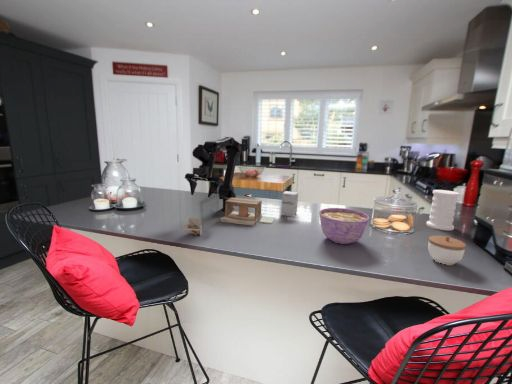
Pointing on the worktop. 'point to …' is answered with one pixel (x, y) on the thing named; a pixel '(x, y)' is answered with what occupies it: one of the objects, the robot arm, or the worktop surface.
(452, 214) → the decorative container
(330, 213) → the bowl of food
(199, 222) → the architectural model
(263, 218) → the tile
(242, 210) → the block
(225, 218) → the board
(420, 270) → the worktop surface
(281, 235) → the worktop surface
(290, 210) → the supplement box
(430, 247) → the lidded jar
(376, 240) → the worktop surface
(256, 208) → the brown wooden u-shape
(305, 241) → the worktop surface
